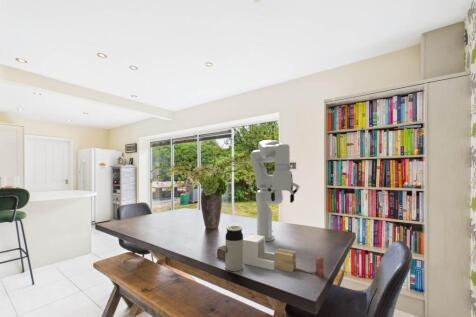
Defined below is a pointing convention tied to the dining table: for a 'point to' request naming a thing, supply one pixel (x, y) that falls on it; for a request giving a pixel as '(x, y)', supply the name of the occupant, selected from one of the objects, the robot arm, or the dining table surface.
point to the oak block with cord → (288, 262)
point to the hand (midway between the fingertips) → (282, 201)
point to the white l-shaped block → (257, 252)
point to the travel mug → (234, 248)
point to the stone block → (221, 252)
